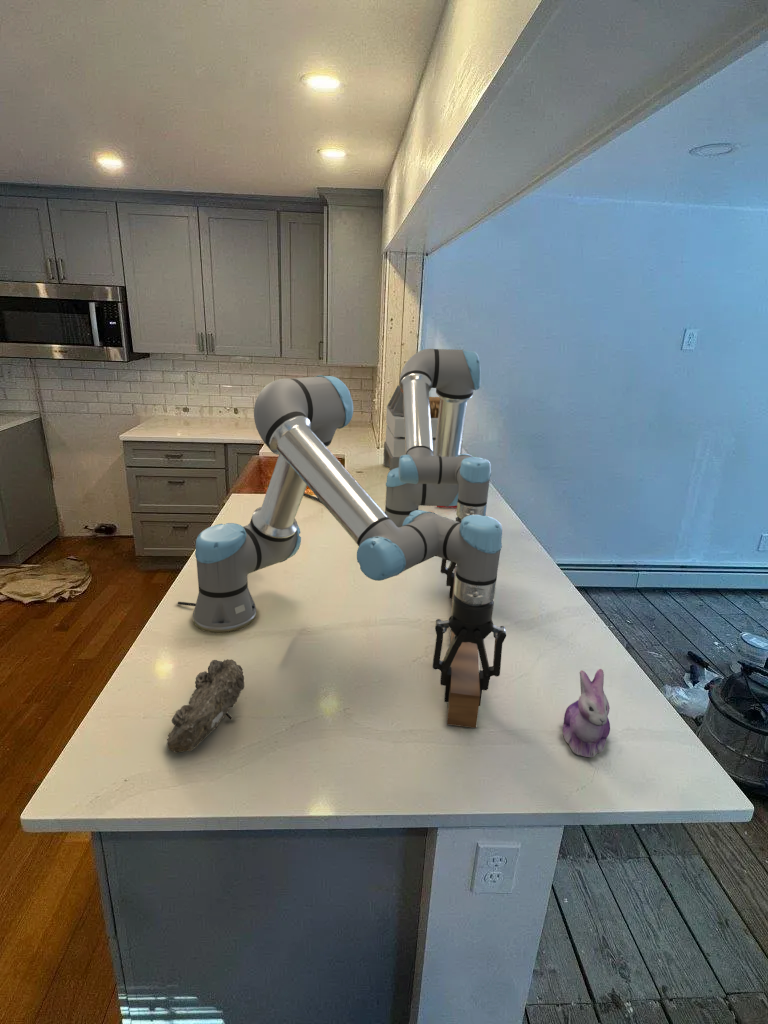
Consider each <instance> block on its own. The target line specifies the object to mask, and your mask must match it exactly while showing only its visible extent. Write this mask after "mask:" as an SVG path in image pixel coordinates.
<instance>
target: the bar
mask: <svg viewBox="0 0 768 1024" xmlns="http://www.w3.org/2000/svg"><path fill="white" fill-rule="evenodd" d="M453 573H454V583H453V593H452V599H451V612H450V613H451V614H450V616H451V615H452V608H453V598H454V595H455V594H454V588H455V577H456V566H455V568H454V570H453ZM454 635H455V634H454V633H453V632H452V630H451V629H450V636H449V637H450V638H449V639H450V640H449V642H450V644H449V646H450V645H451V642H452V640H453V638H454ZM479 660H480V658H479V651H478V648H477V644H474V643H471V642H462V644H461V646H460V647H459V649H458V651H457V653H456V655H455V657H454V659H453V661H452V663H451V665H450V667H451V680H450V690H449V699H448V702H447V715H446V717H447V718H446V719H447V721H446V724H447V725H449V726H457V727H466V728H471V729H472V728H473V729H477V723H478V717H479V716H478V715H479V708H480V706H479V702H480V681H479V670H480V664H479V663H480V662H479Z"/></svg>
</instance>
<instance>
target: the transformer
mask: <svg viewBox="0 0 768 1024" xmlns="http://www.w3.org/2000/svg"><path fill="white" fill-rule="evenodd" d="M429 401H430V415H431V429H432V443H433V456H434V450H435V441H436V432H437V423H438V413H439V404H440V397H439V396H429ZM385 414H386V415H385V423H386V428H385V438H384V442H383V466H384V467H388V468H389V471H391V470H392V469H395V468H398V467H399V458H400V456H402V455H406V450H405V423H404V396H403V393H402V392H401V390H400V384H398V385H397V386H396V388H395V390H394V392H393V394H392V395H391V398H390V400H389V402H388V404H387V405H386V413H385ZM465 421H466V420H464V422H465ZM464 429H465V426H464V427H463V433H464V431H465V430H464ZM463 438H464V434H463V435H462V439H463ZM463 442H464V441H463V440H462V442H461V450H460V454H463Z"/></svg>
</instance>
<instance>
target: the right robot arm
mask: <svg viewBox="0 0 768 1024" xmlns="http://www.w3.org/2000/svg"><path fill="white" fill-rule="evenodd" d="M481 368H482V367H481V362H480V357H479V354H478V353H477V352H476V351H474V350H465V349H453V348H452V349H450V348H449V349H447V348H446V349H444V348H425V349H421V350H419V351H417V352H416V353H414V354H413V355H411V357H409V359H408V360H407V361H406V362H405V364H404V365H403V367H402V369H401V372H400V375H399V385H400V390H401V392H402V393H403V396H404V423H405V450H406V455H402V456H400V458H399V467H398V468H395V469H392V470H391V471H390V470H388V473H387V475H386V482H385V487H386V488H385V489H386V490H385V504H384V505H385V507H384V508H385V509H384V513H385V514H386V515H387V516H388V517H389V518H390V519H391V520H392V521H393V522H394V524H395V525H396V526H397V527H401V526H402V525H403V522H404V520H405V518H406V517H408V516H409V514H410V513H411V512H413V511H415V510H419V507H420V506H421V507H423V506H424V507H437V506H445V507H444V508H446V507H448V506H457V508H456V513H455V515H456V517H455V521H458V522H461V521H462V519H463V518H464V517H466V516H469V515H481V516H487V506H488V497H489V488H490V482H491V481H490V480H491V476H492V471H491V468H492V464H491V462H490V461H489V460H488V459H486V458H483V457H477V456H473V455H471V454H469V453H461V454H460V450H461V442H462V441H463V438H462V435H463V436H464V432H463V427H464V428H465V421H466V420H465V419H466V412H467V405H468V400H470V399H471V398H473V395H474V391H478V390H479V389H480V388H481V383H482V382H481V381H482V374H481V373H482V372H481ZM431 389H435V394H436V395H437V397H440V404H439V413H438V423H437V432H436V441H435V450H434V456H433V443H432V429H431V415H430V401H429V397H430V392H431ZM464 420H465V421H464ZM268 486H269V484H268V485H267V487H268ZM303 497H307V498H311V499H313V500H315V501H317V502H320V503H322V502H321V501H320V500H319V499H318V497H317V496H314V495H311V494H309V493H304V495H303ZM447 561H448V560H445V559H443V558H441V563H440V564H441V565H440V573H441V574H444V575H446V579H445V580H446V581H445V586H446V587H449V595H448V599H451V600H452V593H453V583H454V568H455V566H456V563H455V562H451V561H450V563H449V565H448V567H447Z"/></svg>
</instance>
